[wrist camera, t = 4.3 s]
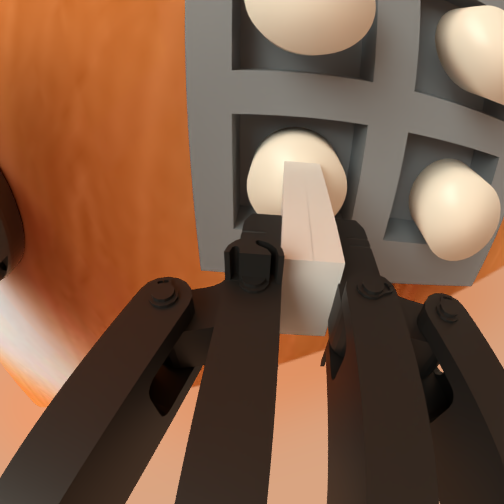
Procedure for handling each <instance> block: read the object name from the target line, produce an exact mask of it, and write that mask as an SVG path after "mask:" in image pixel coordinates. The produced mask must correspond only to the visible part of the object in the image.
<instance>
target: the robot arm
mask: <svg viewBox="0 0 504 504" xmlns="http://www.w3.org/2000/svg"><path fill="white" fill-rule="evenodd" d="M370 247H371V246H370V244H369V241H368V238H367V235H366V232H365V230H364V228H363V227H362V226H361V225H360V224H359V223H358V222H357V221H356V220H346V219H335V217H334V213H333V210H332V206H331V202H330V198H329V194H328V191H327V187H326V183H325V180H324V176H323V173H322V169H321V166H320V164H316V163H305V162H293V161H284V173H283V188H282V203H281V215H269V214H254V213H252V214H251V215H250V216H249V217H248V218H247V219H246V220H245V221H244V224H243V228H242V233H241V237H240V239H238V240H235V241H234V242H232V243H231V244H229V245H228V246H227V247H226V249H225V251H224V265H225V280H224V281H223V282H221V283H219V284H217V285H215V286H211V287H207V288H201V289H194V290H191V288H190V286H189V285H188V284H187V283H186V282H185V281H183V280H181V279H179V278H173V277H164V278H157V279H155V280H153V281H150V282H148V283H147V284H146V285H145V286H143V287H142V288H141V289H140V290H139V291H138V293H137V294H136V295H135V296H134V297H133V299H132V300H131V301H130V302H129V303H128V304H127V306H126V307H125V308H124V309H123V310H122V312H121V313H120V314H119V315H118V316H117V318H116V319H115V320H114V321H113V323H112V324H111V325H110V326H109V327H108V329H107V330H106V331H105V332H104V334H103V335H102V336H101V337H100V339H99V340H98V341H97V342H96V344H95V345H94V346H93V347H92V349H91V350H90V351H89V352H88V354H87V355H86V356H85V357H84V359H83V360H82V361H81V363H80V364H79V365H78V367H77V368H76V369H75V370H74V372H73V373H72V374H71V376H70V377H69V378H68V380H67V381H66V382H65V384H64V385H63V386H62V388H61V389H60V390H59V392H58V393H57V395H56V396H55V397H54V399H53V400H52V401H51V403H50V404H49V406H48V407H47V408H46V410H45V411H44V413H43V414H42V416H41V417H40V418H39V420H38V421H37V423H36V424H35V425H34V427H33V428H32V430H31V431H30V433H29V434H28V436H27V437H26V439H25V440H24V442H23V443H22V445H21V446H20V448H19V449H18V451H17V452H16V454H15V455H14V457H13V458H12V460H11V462H10V463H9V465H8V466H7V468H6V469H5V471H4V473H3V474H2V476H1V478H0V504H125V503H126V501H127V500H128V498H129V496H130V494H131V492H132V491H133V489H134V487H135V486H136V484H137V482H138V480H139V479H140V476H141V475H142V473H143V472H144V470H145V468H146V466H147V465H148V463H149V461H150V459H151V457H152V456H153V454H154V452H155V450H156V449H157V447H158V445H159V443H160V441H161V440H162V438H163V436H164V434H165V433H166V431H167V429H168V427H169V426H170V424H171V422H172V420H173V418H174V417H175V415H176V413H177V411H178V409H179V408H180V406H181V404H182V402H183V400H184V399H185V397H186V395H187V393H188V391H189V390H190V388H191V386H192V384H193V382H194V381H195V379H196V377H197V375H198V373H199V372H200V370H201V368H202V365H205V367H204V371H203V376H202V380H201V384H200V389H199V393H198V398H197V402H196V407H195V411H194V416H193V420H192V425H191V430H190V434H189V438H188V443H187V447H186V452H185V457H184V462H183V466H182V471H181V476H180V480H179V485H178V490H177V495H176V500H175V504H267V496H268V485H269V475H270V463H271V452H272V440H273V428H274V414H275V401H276V386H277V370H278V353H279V335H280V334H294V335H312V336H325V333H326V330H327V327H328V330H329V340H328V343H327V346H326V349H325V352H324V354H323V357H322V360H321V366H324V365H325V362H326V372H327V395H328V396H327V397H328V493H327V504H439V501H440V504H504V369H503V367H502V365H501V364H500V362H499V360H498V359H497V357H496V355H495V354H494V352H493V350H492V349H491V347H490V345H489V344H488V342H487V341H486V339H485V338H484V336H483V334H482V333H481V332H480V330H479V328H478V327H477V325H476V324H475V322H474V321H473V319H472V318H471V316H470V315H469V314H468V312H467V311H466V309H465V308H464V307H463V305H462V304H461V303H460V302H459V301H458V300H456V299H454V298H453V297H451V296H449V295H446V294H443V293H435V294H433V295H430V296H429V297H428V298H427V300H426V301H425V303H424V304H420V303H417V302H414V301H410V300H407V299H404V298H402V297H399V296H398V295H397V292H396V290H395V288H394V286H393V285H392V283H391V282H389V281H388V280H387V279H386V278H385V277H383V276H380V273H379V270H378V267H377V264H376V261H375V258H374V255H373V252H372V249H371V248H370ZM23 252H24V232H23V226H22V222H21V218H20V214H19V211H18V208H17V205H16V202H15V200H14V197H13V195H12V192H11V190H10V188H9V186H8V184H7V182H6V180H5V178H4V176H3V174H2V173H1V171H0V280H2V279H4V278H5V277H6V276H8V275H9V274H10V272H11V271H12V270H13V269H14V268H15V266H16V265H17V264H18V263H19V262H20V260H21V258H22V256H23ZM439 364H440V365H441V368H442V369H443V371H444V372H443V373H442V372H441V371H440V370H439V369H438V368H437V366H438V365H439Z"/></svg>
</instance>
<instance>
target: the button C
mask: <svg viewBox="0 0 504 504" xmlns="http://www.w3.org/2000/svg"><path fill="white" fill-rule="evenodd" d="M409 209H410V214H411V216H412V218H413V220H414V222H415V224H416V225H417V227H418V228H419V230H420V232H421V233H422V235H423V237H424V238H425V240H426V242H427V244H428V245H429V247H430V249H431V250H432V252H433V253H434V254H435V255H436V256H438V257H439V258H441V259H444V260H448V261H459V260H463V259H466V258H469V257H471V256H473V255H474V254H476V253H477V252H479V251H480V250H481V249H482V248H483V247H484V246H485V245H486V244H487V243H488V242H489V241H490V239H491V238H492V236H493V235H494V233H495V231H496V229H497V226H498V223H499V219H500V211H501V207H500V201H499V197H498V195H497V193H496V191H495V190H494V188H493V187H492V186H491V185H490V184H488V183H487V182H486V181H485V180H484V179H483V178H482V177H480V176H479V175H478V174H477V173H476V172H474V171H473V170H472V169H471V168H470V167H468V166H467V165H466V164H465V163H463V162H461V161H459V160H456V159H441V160H438V161H436V162H433V163H432V164H430V165H428V166H427V167H426V168H425V169H424V170H423V171H422V172H421V173H420V174H419V175H418V177H417V178H416V180H415V181H414V183H413V186H412V188H411V191H410V196H409Z"/></svg>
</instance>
